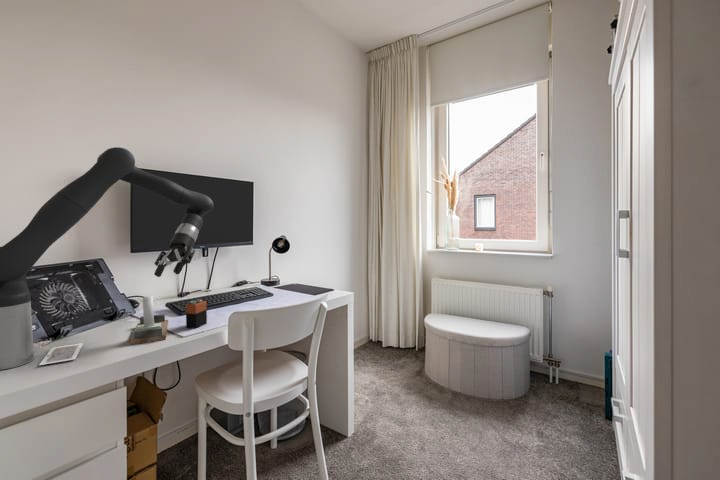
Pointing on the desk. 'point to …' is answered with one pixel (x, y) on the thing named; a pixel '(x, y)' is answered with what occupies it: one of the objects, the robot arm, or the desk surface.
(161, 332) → the rail base
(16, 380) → the desk surface
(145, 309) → the keeper
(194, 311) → the battery
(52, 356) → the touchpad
